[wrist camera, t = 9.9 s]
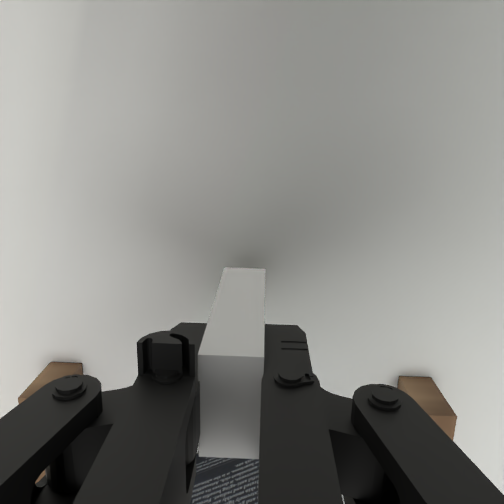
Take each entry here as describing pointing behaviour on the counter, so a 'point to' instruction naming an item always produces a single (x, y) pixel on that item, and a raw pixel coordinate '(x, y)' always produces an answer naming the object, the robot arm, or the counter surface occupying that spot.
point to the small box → (225, 481)
